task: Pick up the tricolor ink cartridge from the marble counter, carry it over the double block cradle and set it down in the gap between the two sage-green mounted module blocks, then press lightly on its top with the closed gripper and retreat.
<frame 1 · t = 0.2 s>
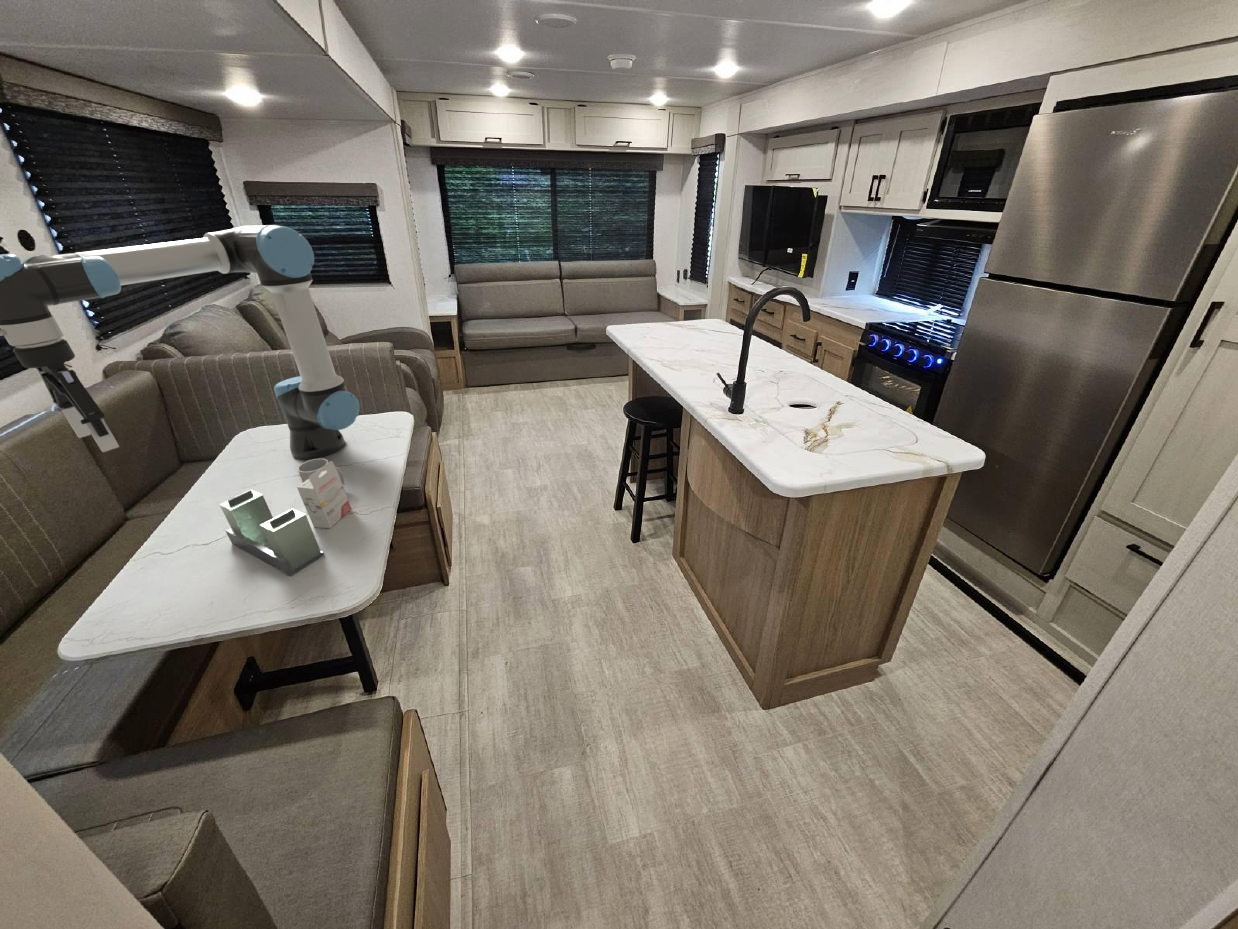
hand: (98, 442, 110), 28 cm above the table, fingers open, 13 cm apart
cup: (329, 493, 142), on the table
ink cartridge box: (332, 518, 131), on the table
double block cradle: (277, 549, 121), on the table
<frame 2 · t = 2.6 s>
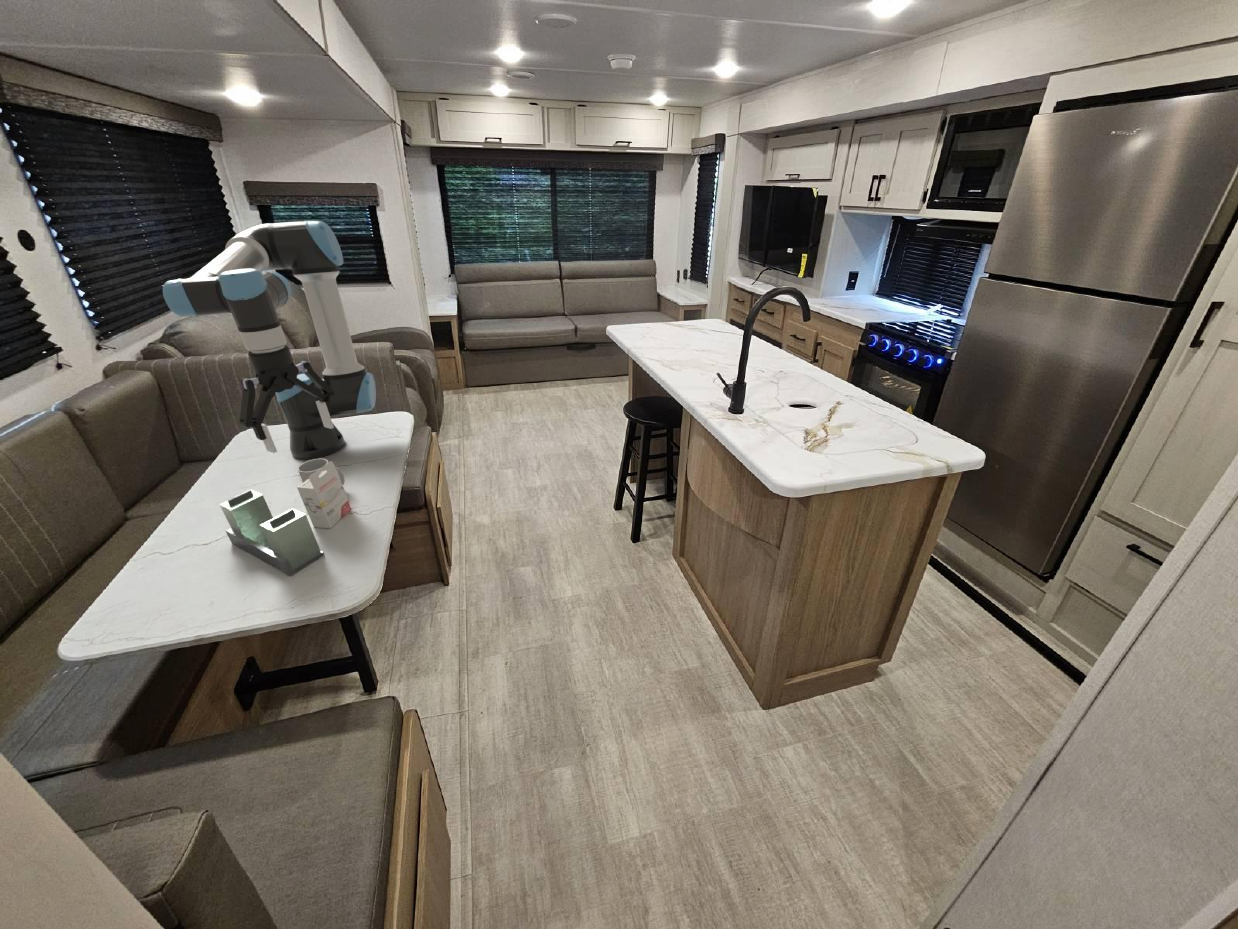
hand: (301, 438, 120), 22 cm above the table, fingers open, 13 cm apart
nothing on the table moved.
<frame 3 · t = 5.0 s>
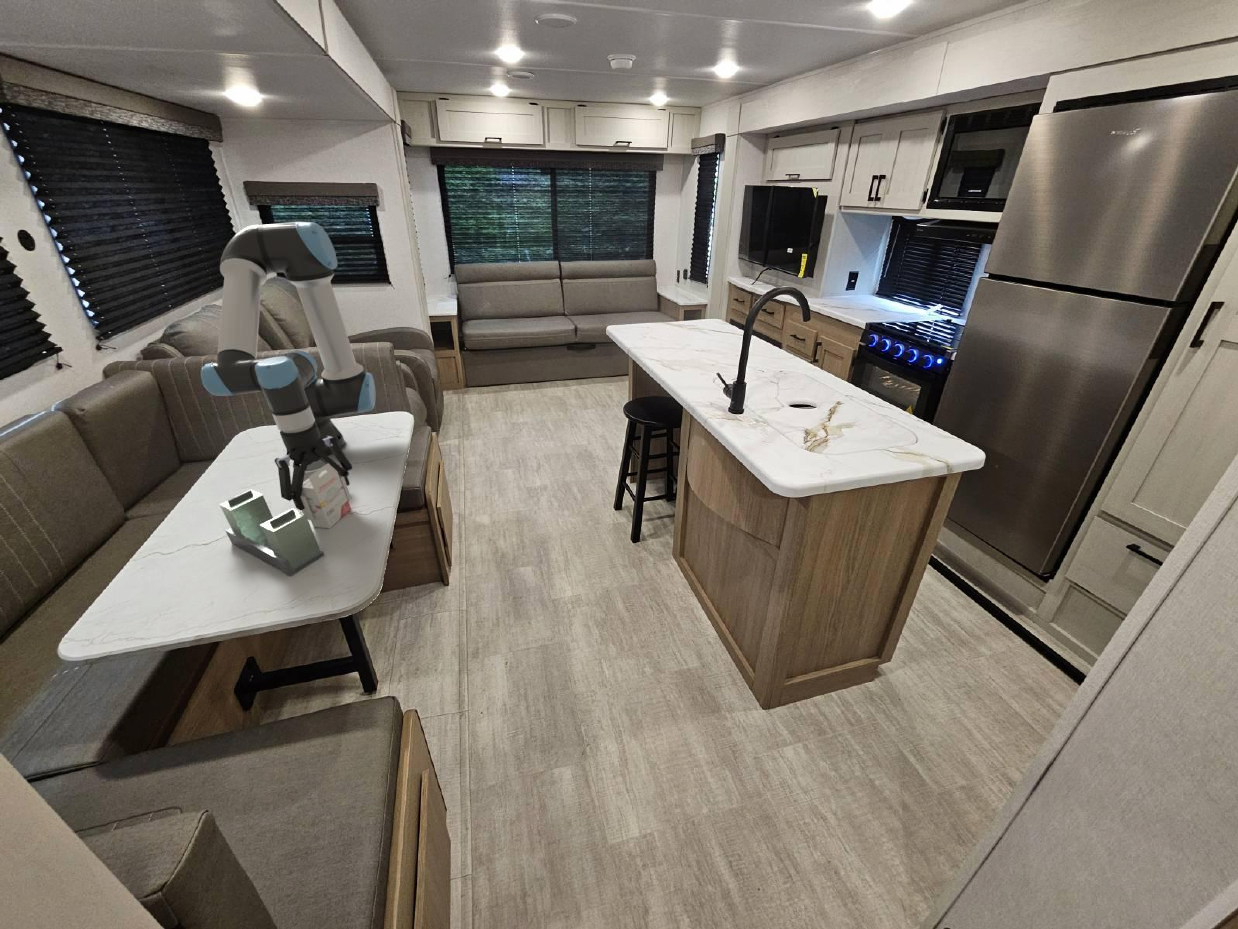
hand: (328, 507, 130), 3 cm above the table, fingers closed on ink cartridge box, 9 cm apart
ink cartridge box: (332, 518, 131), on the table, touching gripper
everything else where it was.
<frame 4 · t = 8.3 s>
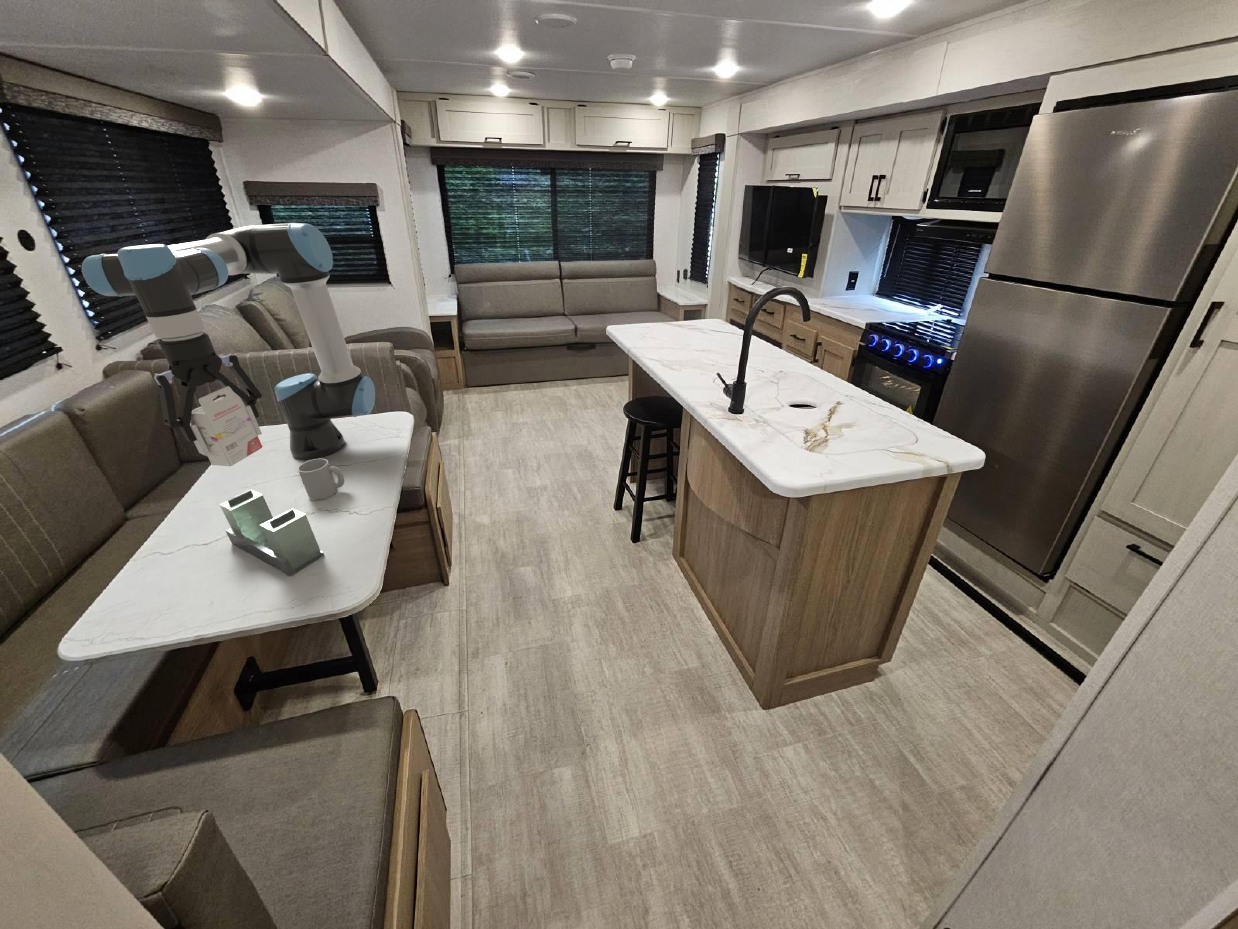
hand: (231, 443, 108), 27 cm above the table, fingers closed on ink cartridge box, 9 cm apart
ink cartridge box: (238, 457, 109), point 24 cm above the table, touching gripper
everything else where it was.
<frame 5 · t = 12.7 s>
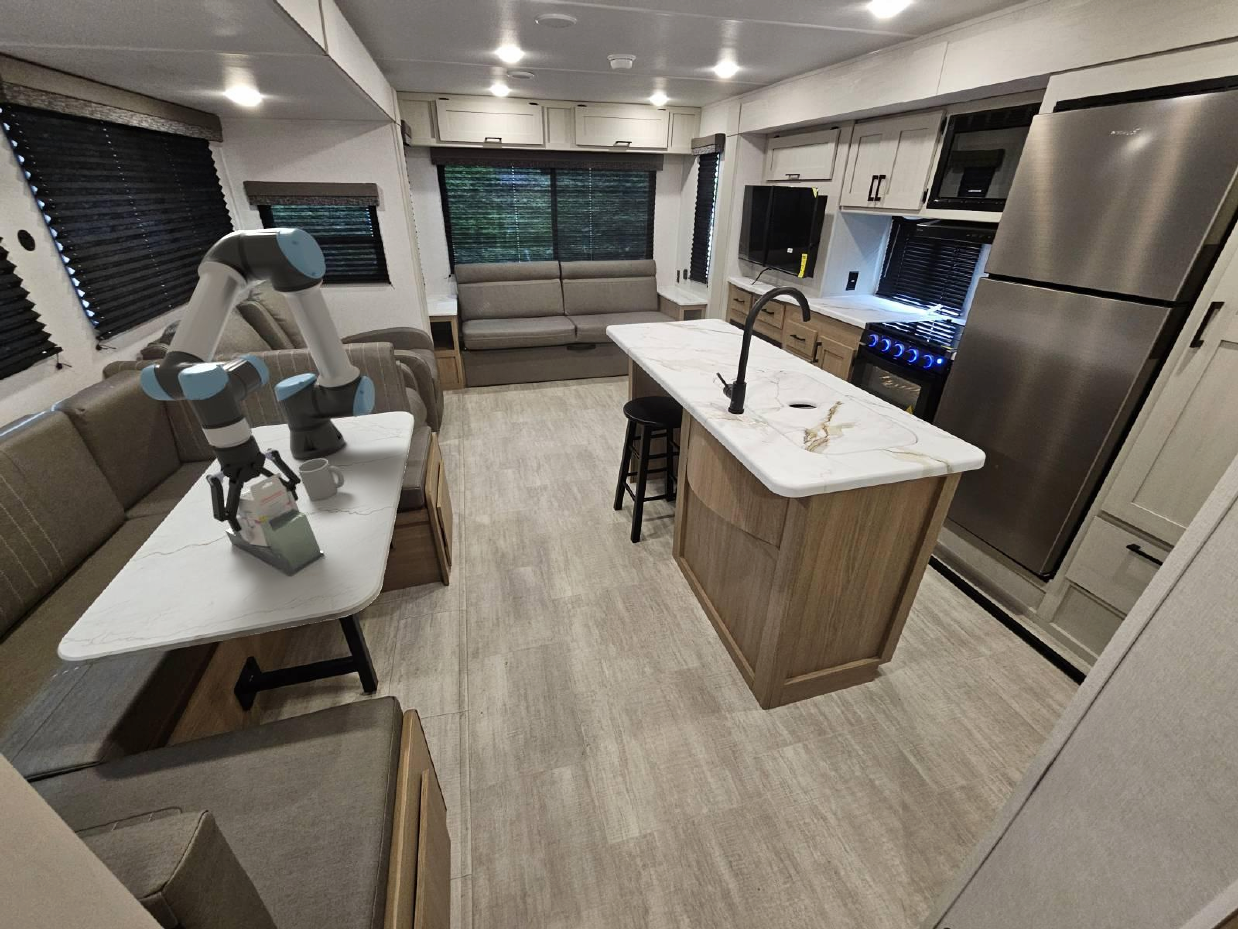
hand: (273, 526, 119), 6 cm above the table, fingers closed on ink cartridge box, 10 cm apart
ink cartridge box: (273, 537, 119), point 3 cm above the table, touching gripper, double block cradle
everything else where it was.
when the fingers open (6 cm above the table, at t = 13.4 s): ink cartridge box drops 2 cm, resting on double block cradle.
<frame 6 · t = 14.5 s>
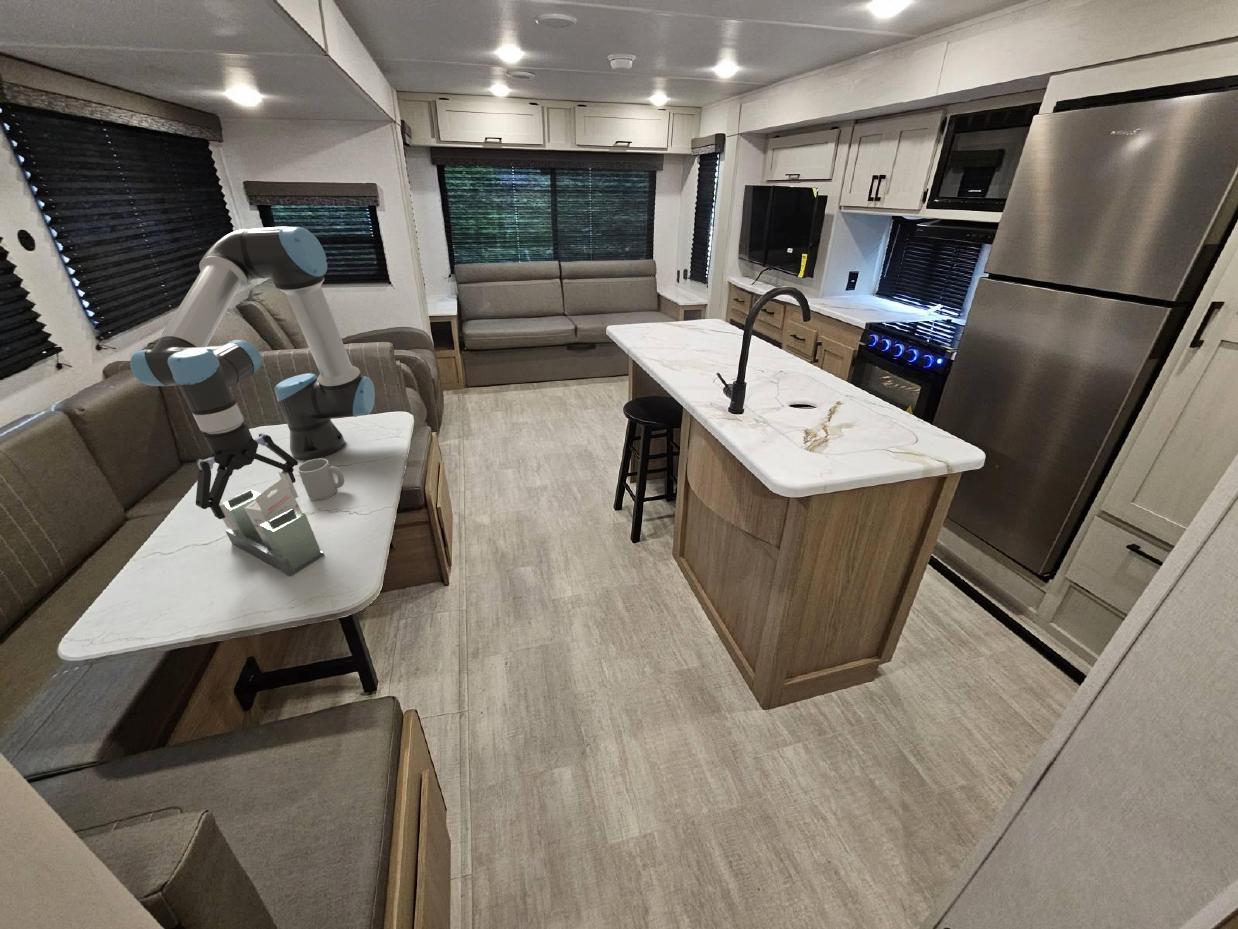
hand: (264, 511, 117), 10 cm above the table, fingers open, 13 cm apart
ink cartridge box: (288, 538, 123), point 1 cm above the table, touching gripper, double block cradle
everything else where it was.
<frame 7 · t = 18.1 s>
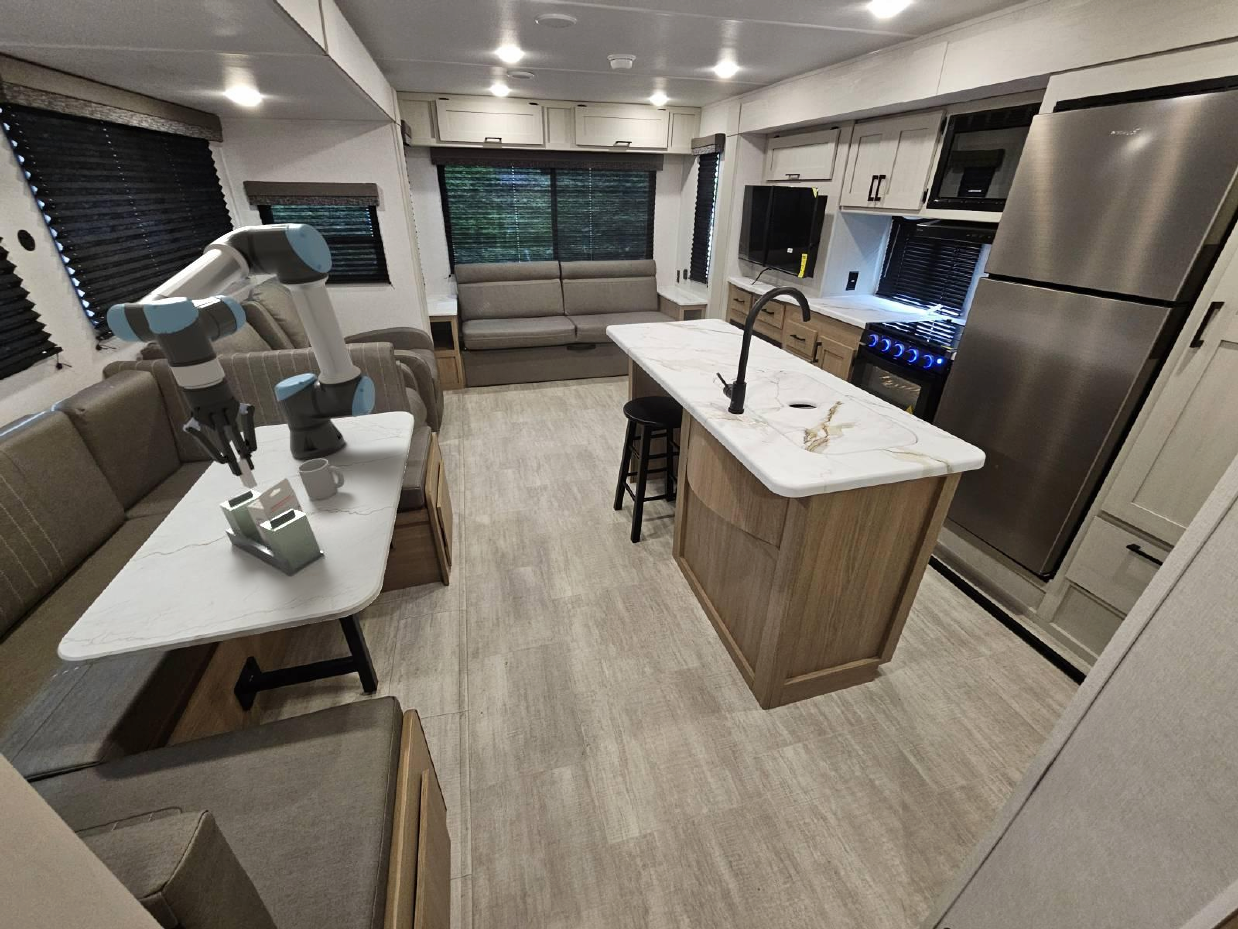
hand: (250, 485, 113), 17 cm above the table, fingers closed
ink cartridge box: (289, 539, 123), point 1 cm above the table, touching double block cradle
everything else where it was.
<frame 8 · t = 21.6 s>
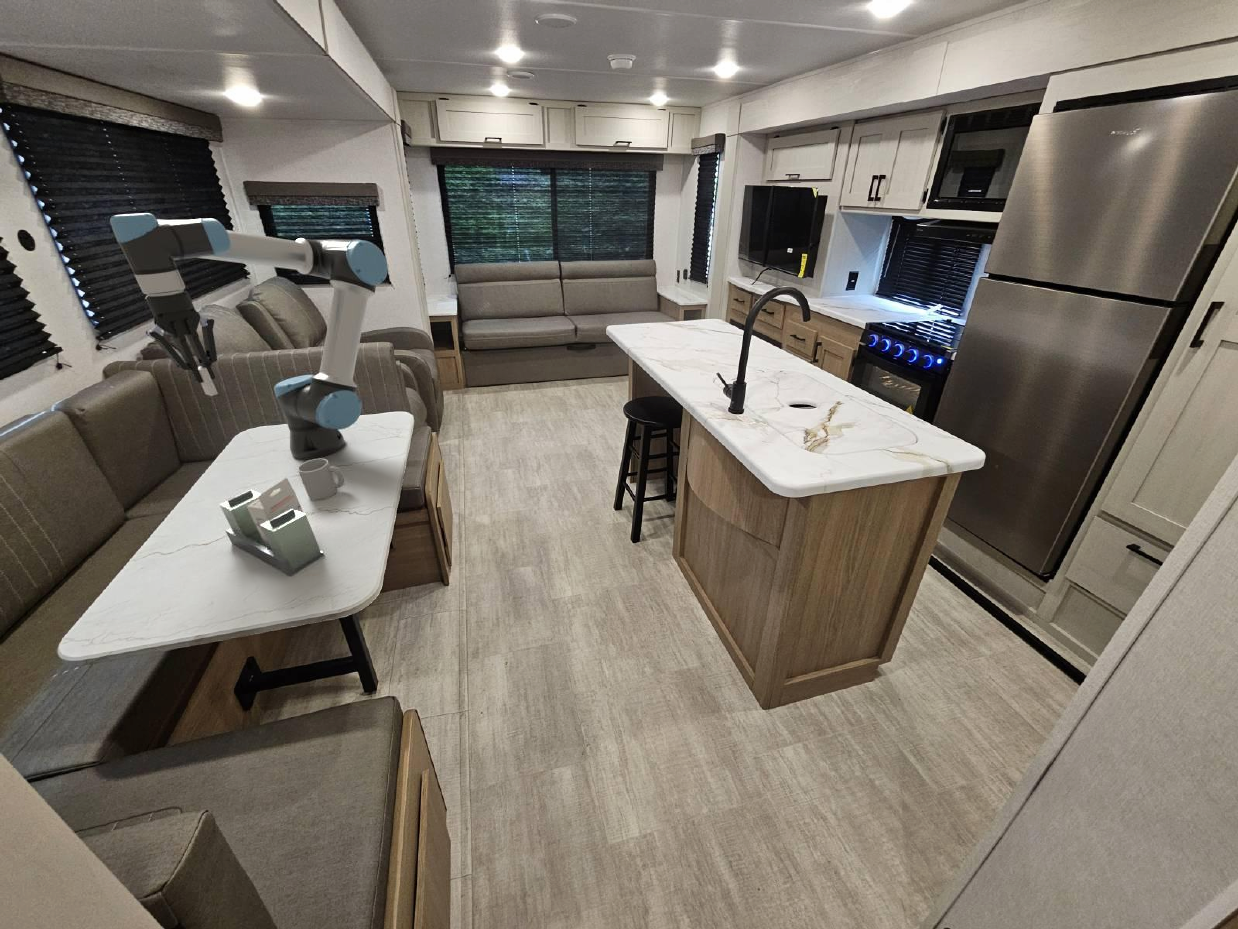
hand: (211, 393, 125), 30 cm above the table, fingers closed
nothing on the table moved.
at the end: ink cartridge box inside the target area on the double block cradle (2.4 cm from its centre), point 0.8 cm above the double block cradle's base; ink cartridge box tilted 0°; the gripper is holding nothing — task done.
